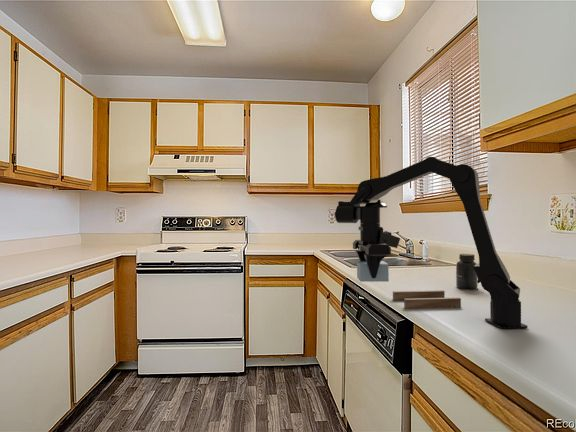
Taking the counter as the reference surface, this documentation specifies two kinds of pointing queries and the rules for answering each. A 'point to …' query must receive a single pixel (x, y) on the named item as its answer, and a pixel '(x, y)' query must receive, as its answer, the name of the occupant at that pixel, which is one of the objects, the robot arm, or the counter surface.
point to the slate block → (365, 275)
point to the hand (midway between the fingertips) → (370, 276)
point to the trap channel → (426, 299)
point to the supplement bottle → (466, 272)
